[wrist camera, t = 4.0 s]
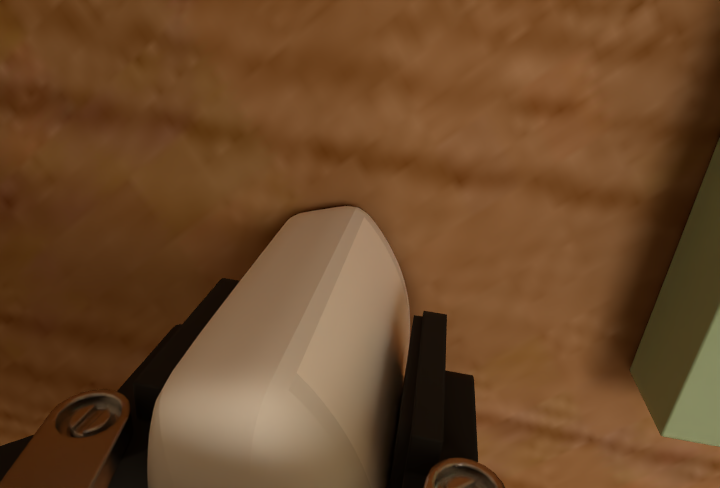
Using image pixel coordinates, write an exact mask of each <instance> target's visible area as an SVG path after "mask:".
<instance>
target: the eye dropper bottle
mask: <svg viewBox="0 0 720 488" xmlns="http://www.w3.org/2000/svg"><path fill="white" fill-rule="evenodd" d="M409 339H410V309H409V301H408V295H407V290H406V286H405V281H404V278H403V275H402V272H401V269H400V267H399V264H398V261H397V259H396V257H395V255H394V253H393V251H392V249H391V247H390V245H389V243H388V241H387V240H386V238H385V237H384V235H383V233H382V232H381V230H380V229H379V227H378V226H377V224H376V223H375V222H374V221H373V219H372V218H371V217H370V216H369V215H368V214H367V213H366V212H364V211H363V210H361V209H360V208H358V207H351V206H342V207H334V208H327V209H321V210H315V211H309V212H304V213H299V214H297V215H295V216H293V217H291V218H289V219H288V220H287V222H286V223H285V224H284V225H283V227H282V228H281V229H280V230H279V232H278V233H277V234H276V236H275V237H274V238H273V239H272V241H271V242H270V243H269V244H268V246H267V247H266V248H265V250H264V251H263V252H262V253H261V255H260V256H259V257H258V259H257V260H256V261H255V262H254V264H253V265H252V266H251V268H250V269H249V270H248V271H247V273H246V274H245V275H244V276H243V278H242V279H241V280H240V282H239V283H238V284H237V286H236V287H235V288H234V289H233V291H232V292H231V293H230V295H229V296H228V297H227V299H226V300H225V301H224V302H223V304H222V305H221V306H220V308H219V309H218V310H217V312H216V313H215V314H214V315H213V317H212V318H211V319H210V321H209V322H208V323H207V325H206V326H205V327H204V328H203V330H202V331H201V332H200V334H199V335H198V337H197V338H196V339H195V341H194V342H193V343H192V345H191V346H190V348H189V349H188V350H187V352H186V353H185V355H184V356H183V357H182V359H181V360H180V361H179V363H178V364H177V366H176V367H175V368H174V370H173V371H172V373H171V374H170V376H169V378H168V380H167V381H166V383H165V385H164V387H163V389H162V390H161V392H160V394H159V396H158V397H157V399H156V402H155V406H154V409H153V414H152V419H151V425H150V432H149V442H148V458H147V477H148V488H389V483H390V475H391V468H392V461H393V454H394V446H395V439H396V432H397V425H398V418H399V410H400V403H401V396H402V389H403V382H404V376H405V369H406V363H407V356H408V348H409Z"/></svg>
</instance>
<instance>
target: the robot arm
mask: <svg viewBox="0 0 720 488" xmlns="http://www.w3.org/2000/svg"><path fill="white" fill-rule="evenodd" d="M239 282H240V281H238V280H232V279H226V278H222V279H221V280H220V281H219V282H218V283H217V284H216V286H215V287H214V288H213V289H212V290H211V291H210V293H209V294H208V295H207V296H206V297H205V298H204V300H203V301H202V302H201V303H200V304H199V305H198V307H197V308H196V309H195V310H194V311H193V312H192V314H191V315H190V316H189V317H188V318H187V319H186V321H185V322H184V323H183V324H179V325H176V326H175V327H173V328H172V329H171V330H170V332H169V333H168V334H167V335H166V336H165V337H164V338H163V340H162V341H161V342H160V343H159V344H158V345H157V346H156V348H155V349H154V350H153V351H152V352H151V353H150V354H149V356H148V357H147V358H146V359H145V360H144V361H143V362H142V363H141V365H140V366H139V367H138V368H137V369H136V370H135V371H134V373H133V374H132V375H131V376H130V377H129V378H128V379H127V381H126V382H125V383H124V384H123V385H122V386H121V387H120V389H119V390H118V391H113V390H107V389H99V390H90V391H86V392H82V393H79V394H76V395H74V396H72V397H69V398H68V399H66V400H65V401H63V402H62V403H60V404H58V405H57V406H56V408H55V409H54V410H53V411H52V412H51V413H50V414H49V415H48V417H47V418H46V420H45V421H44V422H43V424H42V425H41V426H40V428H39V429H38V431H37V432H36V433H35V435H32V436H29V437H26V438H23V439H20V440H17V441H14V442H11V443H8V444H5V445H2V446H0V488H148V477H147V458H148V442H149V432H150V425H151V419H152V414H153V409H154V406H155V402H156V399H157V397H158V396H159V394H160V392H161V390H162V389H163V387H164V385H165V383H166V381H167V380H168V378H169V376H170V374H171V373H172V371H173V370H174V368H175V367H176V366H177V364H178V363H179V361H180V360H181V359H182V357H183V356H184V355H185V353H186V352H187V350H188V349H189V348H190V346H191V345H192V343H193V342H194V341H195V339H196V338H197V337H198V335H199V334H200V332H201V331H202V330H203V328H204V327H205V326H206V325H207V323H208V322H209V321H210V319H211V318H212V317H213V315H214V314H215V313H216V312H217V310H218V309H219V308H220V306H221V305H222V304H223V302H224V301H225V300H226V299H227V297H228V296H229V295H230V293H231V292H232V291H233V289H234V288H235V287H236V286H237V284H238V283H239ZM446 326H447V315H446V314H440V313H434V312H428V311H424V312H423V317H421V316H415V315H414V318H413V325H412V331H411V337H410V344H409V350H408V356H407V363H406V369H405V376H404V382H403V389H402V396H401V403H400V410H399V418H398V425H397V432H396V439H395V446H394V454H393V461H392V468H391V475H390V483H389V488H505V487H504V484H503V483H502V481H501V480H500V479H499V478H498V477H497V475H496V474H495V473H494V472H492V471H491V470H490V469H488V468H487V467H486V466H484V465H482V464H480V463H478V451H477V431H476V411H475V391H474V377H473V375H467V374H461V373H456V372H450V371H445V362H446Z"/></svg>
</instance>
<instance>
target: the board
mask: <svg viewBox="0 0 720 488" xmlns="http://www.w3.org/2000/svg"><path fill="white" fill-rule="evenodd" d="M630 372H631V374H632V377H633V379H634V381H635V383H636V385H637V387H638V389H639V391H640V393H641V395H642V397H643V399H644V401H645V404H646V406H647V408H648V410H649V412H650V414H651V416H652V418H653V420H654V422H655V424H656V426H657V428H658V431H659V433H660V435H661V436H663V437H669V438H674V439H680V440H685V441H691V442H696V443H702V444H707V445H713V446H718V447H720V138H719V140H718V143H717V146H716V148H715V151H714V153H713V156H712V158H711V161H710V164H709V166H708V169H707V171H706V174H705V177H704V179H703V182H702V184H701V187H700V189H699V192H698V195H697V197H696V200H695V202H694V205H693V208H692V210H691V213H690V215H689V218H688V221H687V223H686V226H685V228H684V231H683V233H682V236H681V239H680V241H679V244H678V246H677V249H676V252H675V254H674V257H673V259H672V262H671V265H670V267H669V270H668V272H667V275H666V277H665V280H664V283H663V285H662V288H661V290H660V293H659V296H658V298H657V301H656V303H655V306H654V309H653V311H652V314H651V316H650V319H649V321H648V324H647V327H646V329H645V332H644V334H643V337H642V340H641V342H640V345H639V347H638V350H637V352H636V355H635V358H634V360H633V363H632V365H631V368H630Z"/></svg>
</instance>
